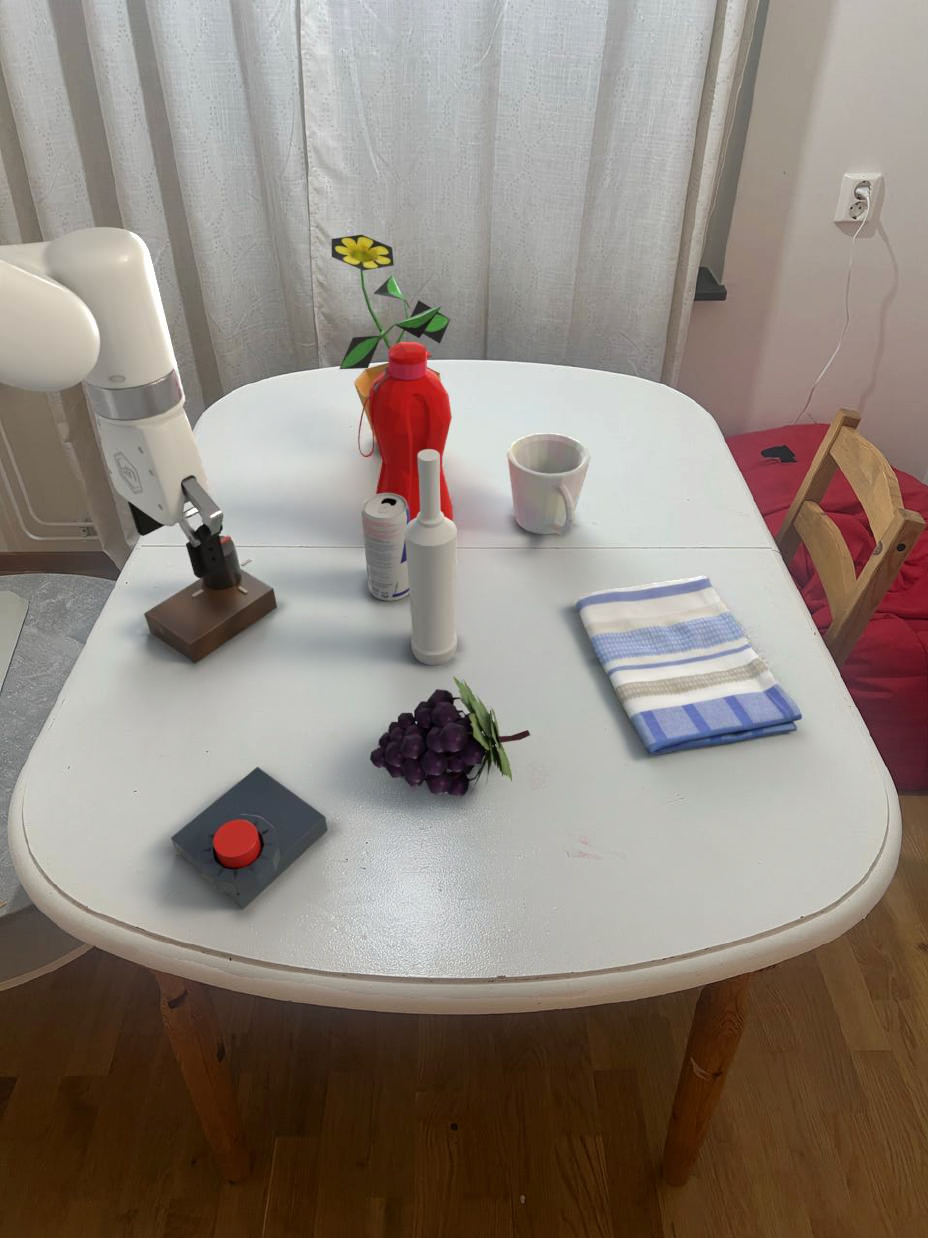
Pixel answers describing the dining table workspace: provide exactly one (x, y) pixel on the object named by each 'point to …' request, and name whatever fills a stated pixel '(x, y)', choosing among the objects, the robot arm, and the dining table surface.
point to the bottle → (431, 569)
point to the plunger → (237, 843)
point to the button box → (279, 826)
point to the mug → (547, 481)
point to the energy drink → (386, 545)
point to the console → (209, 615)
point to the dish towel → (683, 666)
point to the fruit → (443, 743)
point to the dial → (225, 568)
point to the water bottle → (408, 423)
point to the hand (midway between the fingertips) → (181, 549)
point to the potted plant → (362, 349)
